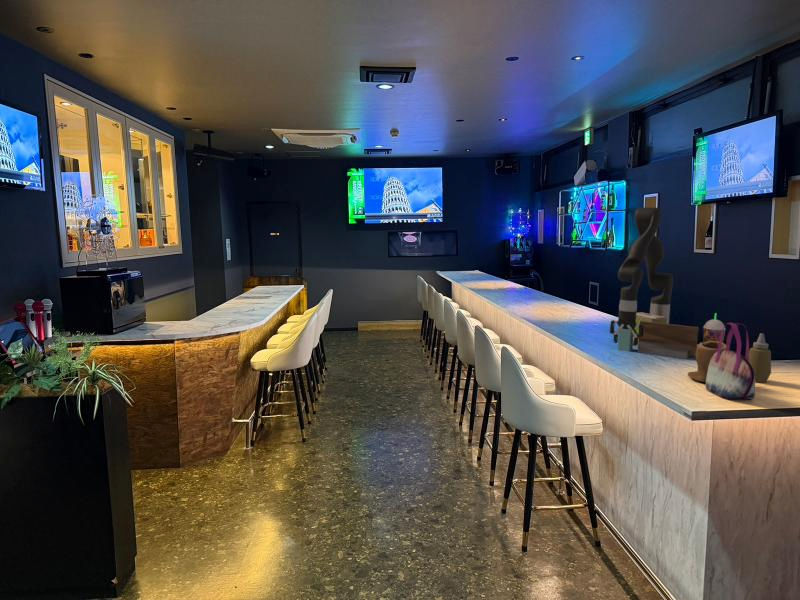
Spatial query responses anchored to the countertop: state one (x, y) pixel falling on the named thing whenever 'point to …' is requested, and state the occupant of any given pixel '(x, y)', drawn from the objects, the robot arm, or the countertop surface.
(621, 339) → the cabinet
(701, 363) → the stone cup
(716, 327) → the smoothie
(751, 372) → the handbag
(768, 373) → the squeeze bottle
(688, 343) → the wall board
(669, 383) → the countertop surface
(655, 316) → the tea box
